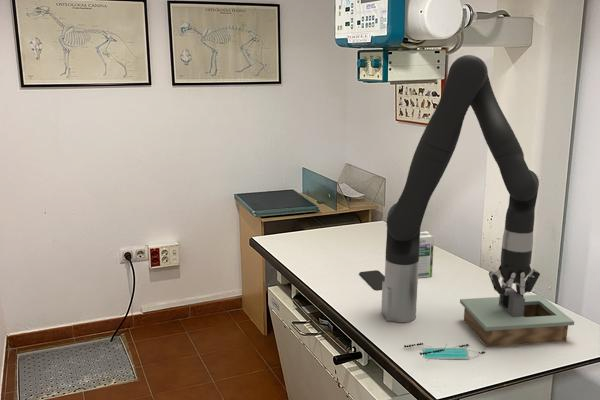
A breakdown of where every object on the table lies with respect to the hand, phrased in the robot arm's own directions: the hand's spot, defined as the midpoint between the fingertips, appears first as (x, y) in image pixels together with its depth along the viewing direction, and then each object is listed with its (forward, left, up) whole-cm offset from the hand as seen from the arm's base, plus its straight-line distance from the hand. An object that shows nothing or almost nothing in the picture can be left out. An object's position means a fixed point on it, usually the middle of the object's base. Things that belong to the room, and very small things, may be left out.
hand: (510, 306), depth 160 cm
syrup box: (-11, +42, -8) cm, 44 cm away
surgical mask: (-22, -9, -8) cm, 25 cm away
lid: (+1, 0, -2) cm, 2 cm away
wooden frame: (+1, 0, -7) cm, 7 cm away
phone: (-27, +39, -8) cm, 48 cm away
